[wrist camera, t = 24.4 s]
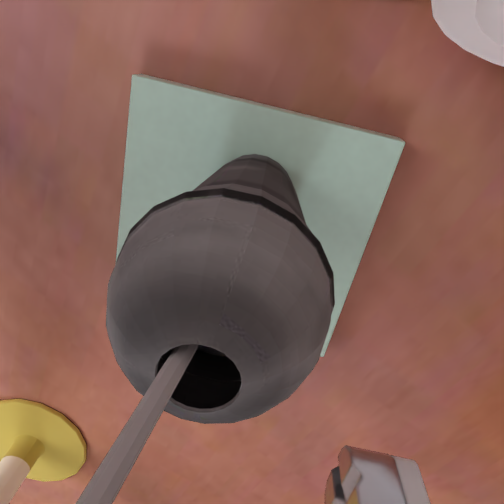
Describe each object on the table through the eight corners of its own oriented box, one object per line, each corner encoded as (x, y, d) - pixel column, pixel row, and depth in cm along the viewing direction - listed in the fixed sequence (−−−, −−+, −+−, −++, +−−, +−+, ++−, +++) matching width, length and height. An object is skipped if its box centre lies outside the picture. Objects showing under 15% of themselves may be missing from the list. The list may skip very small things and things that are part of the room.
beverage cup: (264, 271, 26) (195, 750, 8) (168, 201, 25) (-174, 590, 7) (344, 184, 23) (517, 620, 5) (242, 99, 22) (-5, 293, 4)
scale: (118, 307, 30) (100, 332, 27) (140, 73, 23) (120, 75, 20) (318, 356, 30) (320, 385, 27) (400, 137, 23) (414, 147, 21)
